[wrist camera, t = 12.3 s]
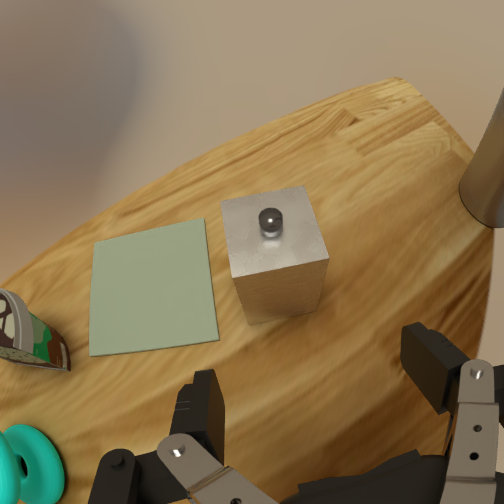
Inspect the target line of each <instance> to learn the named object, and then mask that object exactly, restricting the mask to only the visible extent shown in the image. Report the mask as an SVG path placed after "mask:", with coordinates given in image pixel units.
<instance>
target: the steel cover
mask: <svg viewBox="0 0 504 504" xmlns="http://www.w3.org/2000/svg"><path fill="white" fill-rule="evenodd" d="M220 203H221V210H222V216H223V223H224V229H225V236H226V242H227V248H228V255H229V261H230V267H231V273H232V279H233V281H234V284H235V287H236V290H237V293H238V296H239V298H240V301H241V304H242V307H243V309H244V312H245V315H246V318H247V321H248V323H249V325H253V324H258V323H263V322H268V321H273V320H278V319H283V318H288V317H292V316H297V315H301V314H306V313H310V312H315V311H316V309H317V305H318V301H319V297H320V294H321V290H322V286H323V282H324V278H325V274H326V270H327V266H328V262H329V255H328V252H327V249H326V246H325V243H324V240H323V238H322V235H321V232H320V229H319V226H318V223H317V220H316V217H315V215H314V212H313V209H312V206H311V203H310V201H309V198H308V195H307V192H306V190H305V187H304V185H303V186H297V187H292V188H286V189H281V190H275V191H270V192H265V193H259V194H254V195H249V196H244V197H239V198H234V199H229V200H224V201H220Z"/></svg>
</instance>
